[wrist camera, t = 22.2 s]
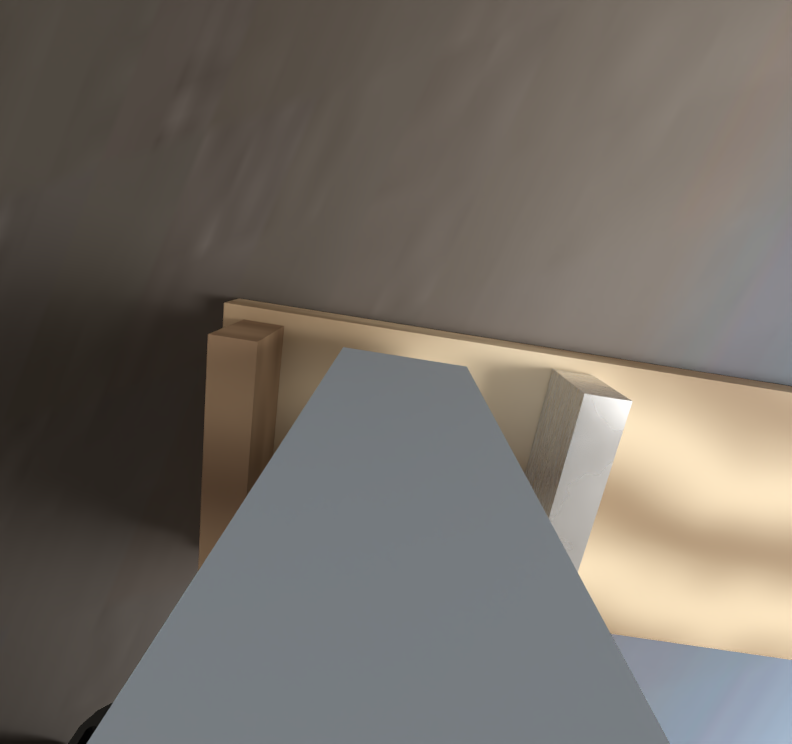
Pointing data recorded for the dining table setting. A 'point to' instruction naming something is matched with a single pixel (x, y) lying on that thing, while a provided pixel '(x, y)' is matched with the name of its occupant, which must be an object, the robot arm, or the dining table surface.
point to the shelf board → (518, 418)
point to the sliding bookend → (575, 453)
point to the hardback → (386, 592)
